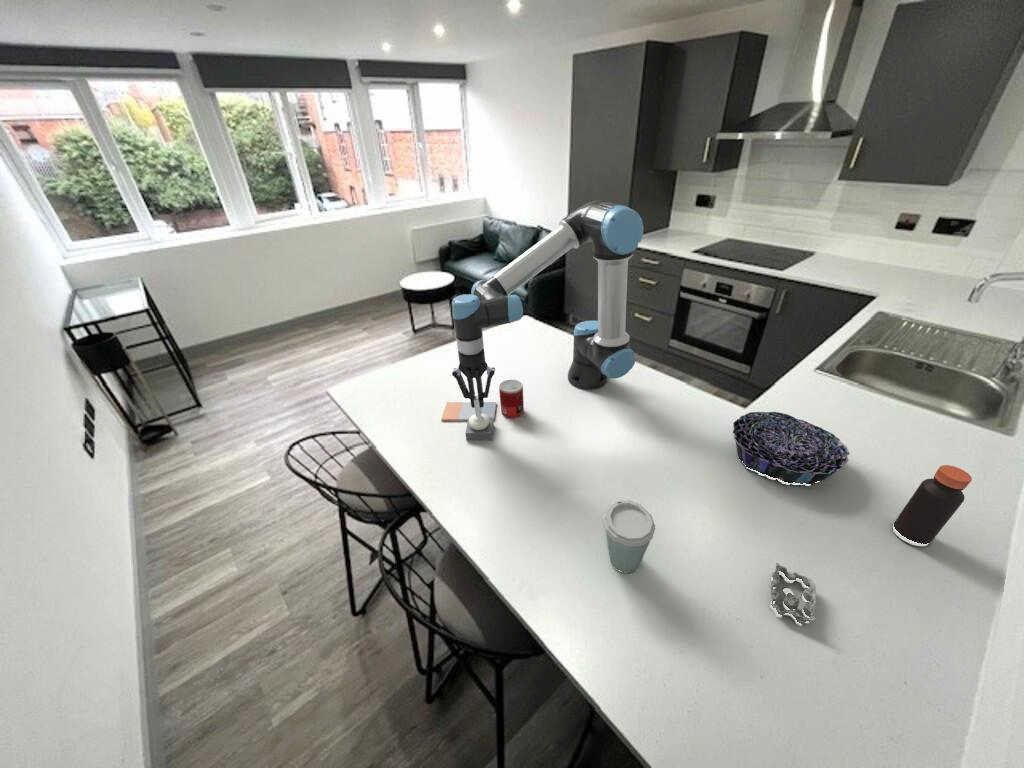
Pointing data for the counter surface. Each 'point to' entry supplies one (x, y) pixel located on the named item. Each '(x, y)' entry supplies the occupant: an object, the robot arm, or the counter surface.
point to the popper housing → (480, 432)
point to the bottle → (933, 504)
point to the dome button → (479, 422)
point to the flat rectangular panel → (466, 411)
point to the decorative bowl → (788, 447)
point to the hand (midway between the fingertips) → (478, 414)
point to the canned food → (511, 398)
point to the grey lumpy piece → (792, 600)
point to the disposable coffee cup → (627, 534)
